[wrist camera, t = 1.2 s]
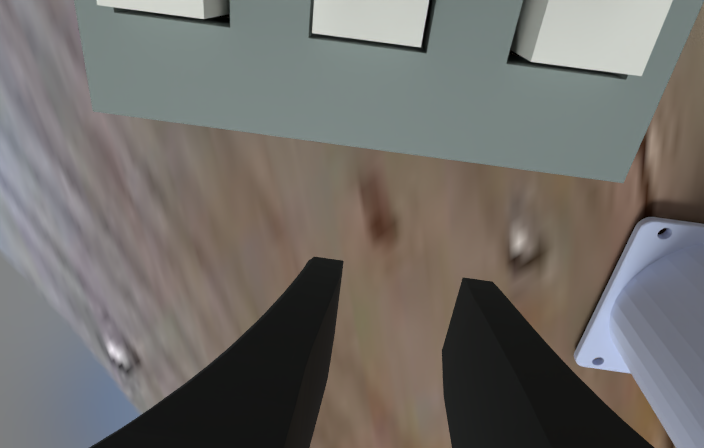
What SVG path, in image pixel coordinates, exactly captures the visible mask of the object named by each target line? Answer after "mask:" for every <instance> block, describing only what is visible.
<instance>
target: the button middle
mask: <svg viewBox="0 0 704 448" xmlns="http://www.w3.org/2000/svg"><path fill="white" fill-rule="evenodd" d="M428 4H429V0H314V9H313V25H312V33H314V34H322V35H330V36H337V37H345V38H353V39H360V40H368V41H376V42H383V43H391V44H399V45H406V46H414V47H421V44H422V38H423V32H424V27H425V21H426V15H427V9H428Z"/></svg>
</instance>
